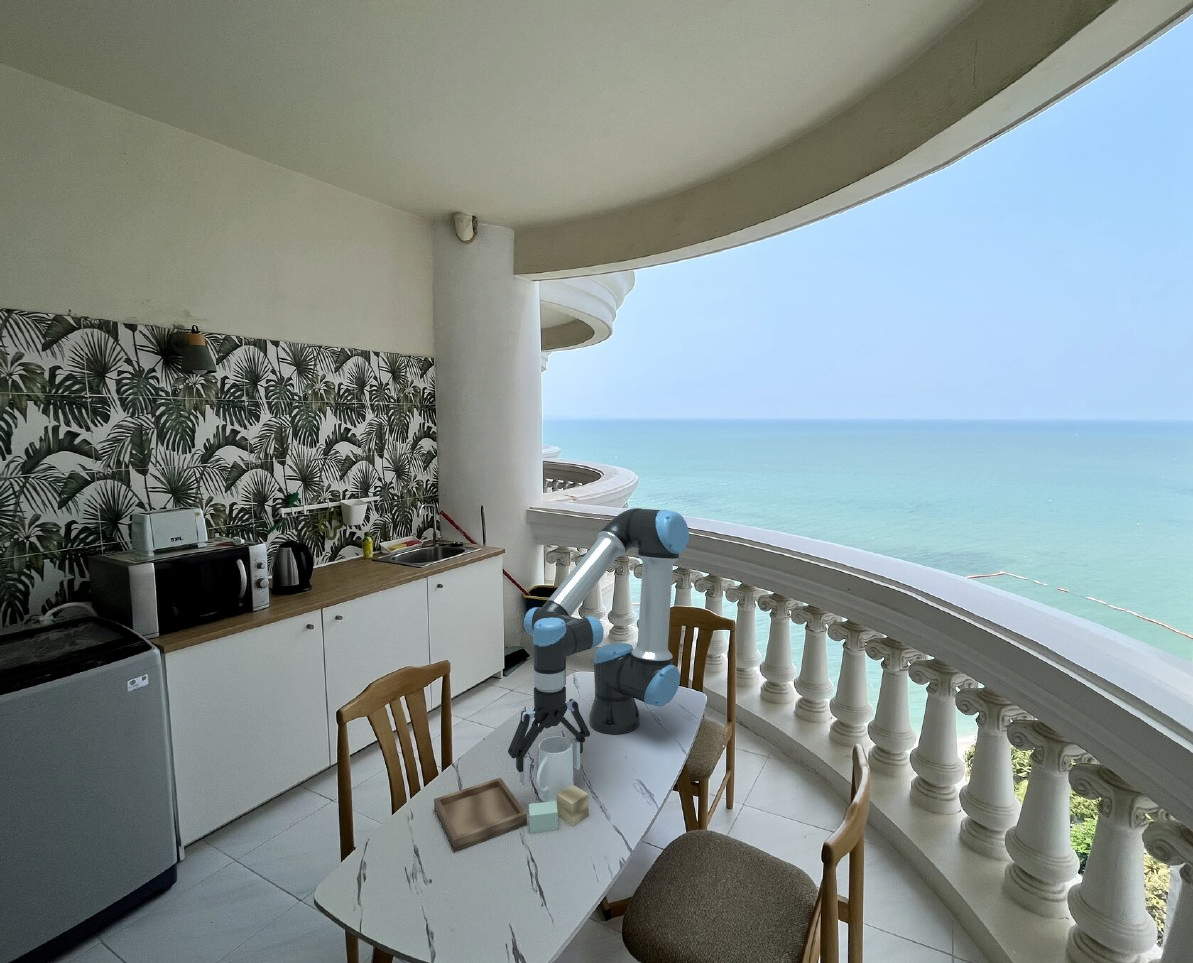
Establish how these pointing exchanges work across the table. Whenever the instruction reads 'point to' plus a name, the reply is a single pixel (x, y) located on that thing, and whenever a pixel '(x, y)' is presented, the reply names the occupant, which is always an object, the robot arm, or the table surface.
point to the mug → (554, 767)
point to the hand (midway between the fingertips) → (550, 775)
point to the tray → (479, 813)
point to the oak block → (572, 805)
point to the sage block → (543, 817)
